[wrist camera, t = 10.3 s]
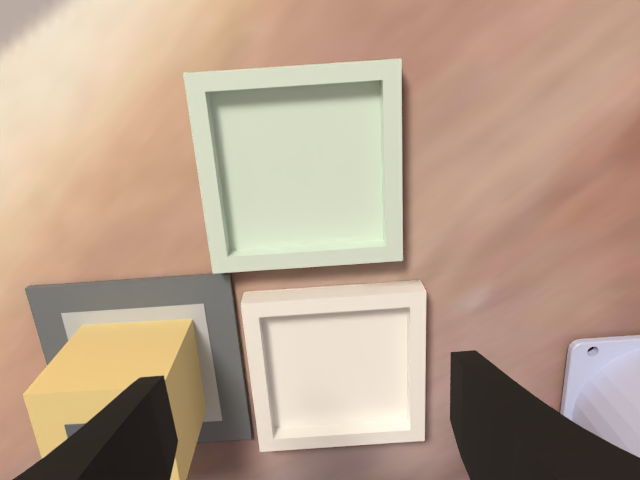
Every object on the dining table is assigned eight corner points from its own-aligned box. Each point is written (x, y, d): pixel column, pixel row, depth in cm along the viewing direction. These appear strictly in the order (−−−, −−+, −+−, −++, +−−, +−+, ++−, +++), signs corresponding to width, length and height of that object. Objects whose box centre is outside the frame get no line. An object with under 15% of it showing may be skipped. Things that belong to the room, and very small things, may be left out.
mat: (230, 272, 22) (228, 275, 22) (252, 435, 25) (251, 440, 25) (28, 285, 22) (24, 289, 22) (74, 447, 25) (71, 452, 25)
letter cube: (192, 319, 23) (162, 388, 18) (206, 410, 24) (181, 495, 20) (81, 324, 23) (21, 395, 18) (103, 415, 24) (53, 502, 20)
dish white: (420, 279, 23) (426, 291, 22) (419, 423, 25) (424, 440, 24) (244, 291, 23) (240, 304, 22) (262, 434, 25) (259, 451, 24)
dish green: (396, 58, 19) (401, 58, 18) (398, 250, 22) (402, 260, 21) (190, 72, 19) (183, 73, 18) (217, 262, 22) (212, 273, 21)
